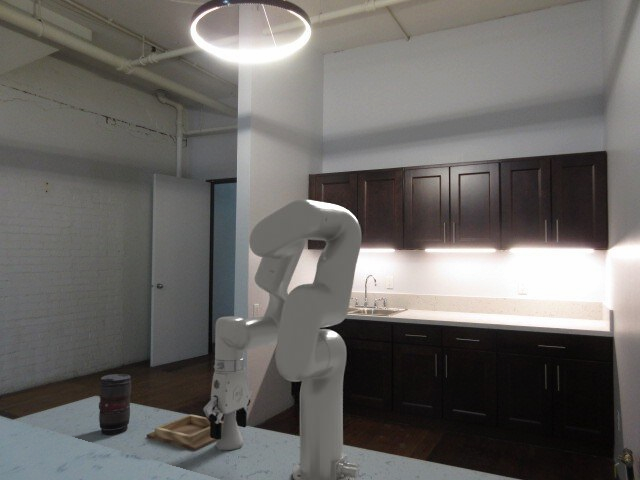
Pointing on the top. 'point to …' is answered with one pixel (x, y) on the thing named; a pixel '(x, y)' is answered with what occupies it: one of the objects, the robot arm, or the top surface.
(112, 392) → the camera lens
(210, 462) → the top surface
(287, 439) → the top surface
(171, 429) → the shaker holder
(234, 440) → the flask
